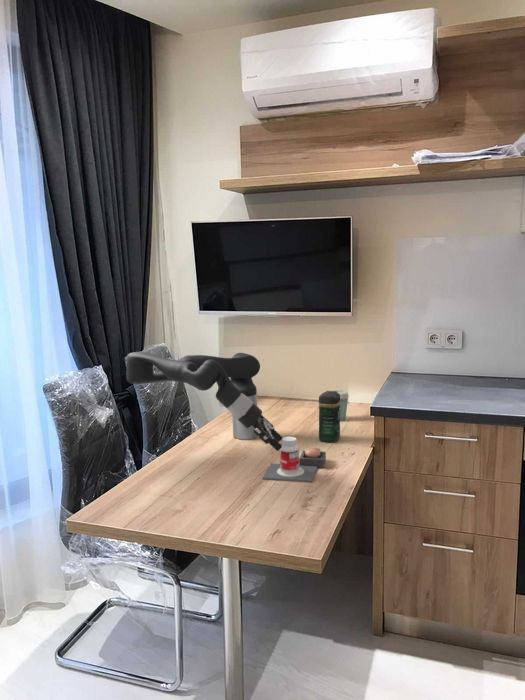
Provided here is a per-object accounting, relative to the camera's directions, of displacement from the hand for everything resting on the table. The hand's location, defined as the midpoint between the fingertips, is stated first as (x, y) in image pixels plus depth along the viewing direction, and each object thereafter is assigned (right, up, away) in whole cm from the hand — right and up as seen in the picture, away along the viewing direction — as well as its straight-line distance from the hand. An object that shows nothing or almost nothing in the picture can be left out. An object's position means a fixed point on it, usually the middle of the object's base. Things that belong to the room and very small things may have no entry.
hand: (280, 444), depth 190 cm
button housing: (+12, -8, +11) cm, 18 cm away
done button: (+11, -6, +10) cm, 16 cm away
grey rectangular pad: (+4, -10, +3) cm, 11 cm away
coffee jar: (+20, -4, +36) cm, 42 cm away
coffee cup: (+27, +1, +62) cm, 68 cm away
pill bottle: (+3, -9, +3) cm, 10 cm away
